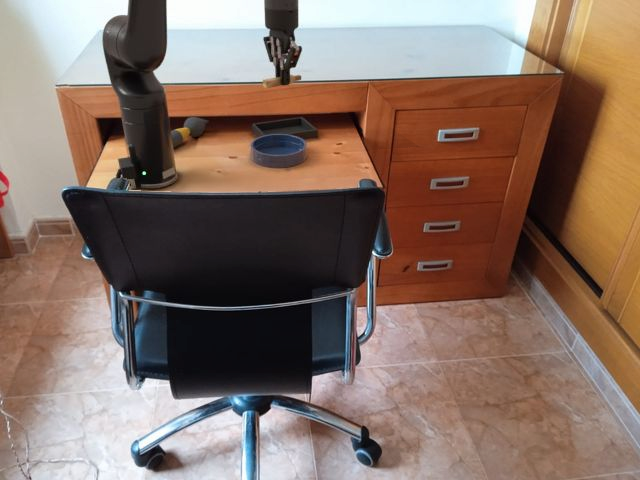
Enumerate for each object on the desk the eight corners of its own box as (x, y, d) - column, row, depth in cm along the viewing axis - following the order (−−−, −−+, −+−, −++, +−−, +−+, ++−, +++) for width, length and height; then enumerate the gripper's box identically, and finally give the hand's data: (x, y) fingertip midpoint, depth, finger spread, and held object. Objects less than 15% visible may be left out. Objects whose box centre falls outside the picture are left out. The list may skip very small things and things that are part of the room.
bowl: (262, 173, 121) (261, 159, 119) (243, 152, 131) (242, 138, 129) (315, 164, 126) (315, 150, 124) (293, 144, 136) (293, 130, 134)
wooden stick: (266, 88, 125) (266, 81, 124) (263, 86, 126) (262, 79, 125) (302, 81, 130) (302, 74, 129) (298, 79, 131) (298, 73, 130)
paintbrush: (164, 159, 126) (162, 139, 123) (148, 155, 128) (144, 135, 125) (213, 132, 141) (211, 113, 139) (197, 128, 143) (195, 110, 140)
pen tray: (265, 147, 134) (265, 137, 132) (252, 132, 141) (251, 123, 140) (317, 138, 139) (317, 129, 137) (302, 125, 147) (302, 116, 145)
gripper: (251, 2, 121) (254, 79, 131) (283, 11, 112) (285, 94, 121) (279, -1, 125) (280, 74, 134) (313, 8, 116) (312, 88, 125)
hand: (282, 83), depth 128 cm, fingers closed on wooden stick, 1 cm apart
